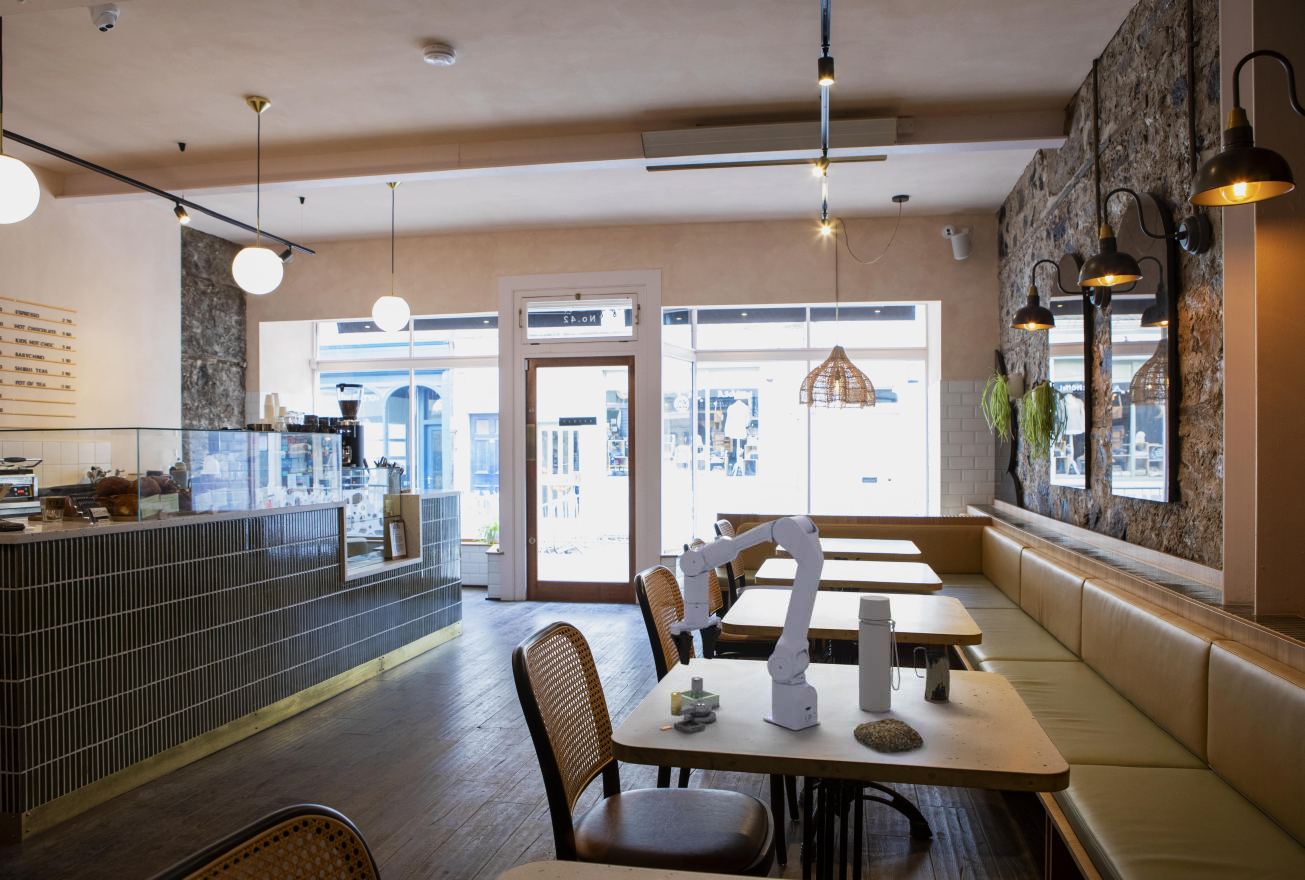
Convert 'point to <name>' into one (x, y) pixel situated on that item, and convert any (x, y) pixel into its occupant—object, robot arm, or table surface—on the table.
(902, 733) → the brown rock
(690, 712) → the crank
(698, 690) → the stop pin
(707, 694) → the tray
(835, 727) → the table surface
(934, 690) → the mug
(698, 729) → the crank base
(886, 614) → the water bottle
